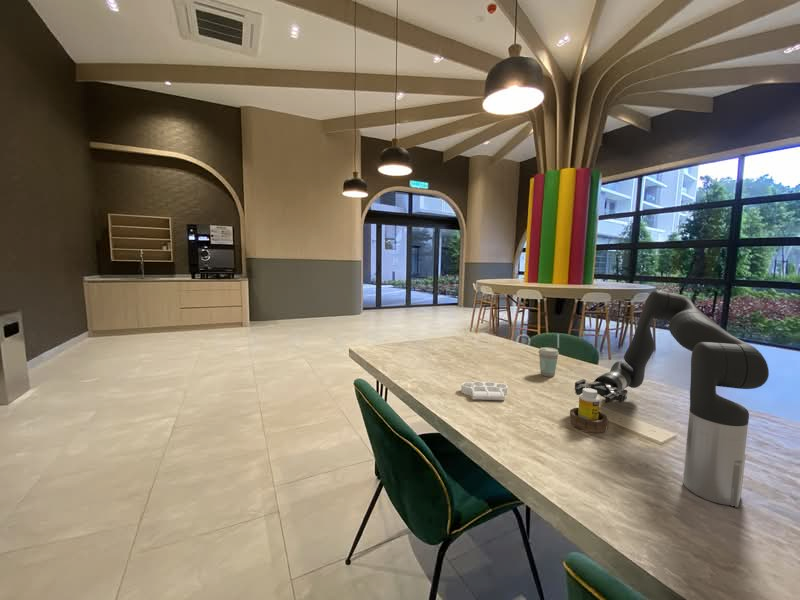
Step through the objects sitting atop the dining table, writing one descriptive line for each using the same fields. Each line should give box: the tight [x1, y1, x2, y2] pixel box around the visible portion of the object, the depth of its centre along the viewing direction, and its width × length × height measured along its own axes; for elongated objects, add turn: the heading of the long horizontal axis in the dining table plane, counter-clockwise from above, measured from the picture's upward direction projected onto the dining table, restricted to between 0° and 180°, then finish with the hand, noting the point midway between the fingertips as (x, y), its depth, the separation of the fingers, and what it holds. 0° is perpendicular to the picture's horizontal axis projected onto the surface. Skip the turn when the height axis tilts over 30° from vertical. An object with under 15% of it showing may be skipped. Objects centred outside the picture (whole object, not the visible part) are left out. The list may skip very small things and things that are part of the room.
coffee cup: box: [538, 346, 560, 378], centre depth 152 cm, size 8×8×12 cm
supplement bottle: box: [578, 387, 601, 421], centre depth 104 cm, size 6×6×10 cm
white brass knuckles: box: [460, 380, 509, 401], centre depth 130 cm, size 3×18×15 cm
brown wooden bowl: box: [569, 407, 609, 434], centre depth 104 cm, size 10×10×4 cm
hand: (591, 395), depth 105 cm, fingers open, 8 cm apart
